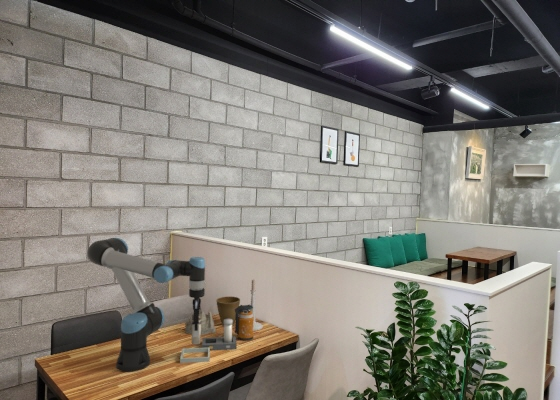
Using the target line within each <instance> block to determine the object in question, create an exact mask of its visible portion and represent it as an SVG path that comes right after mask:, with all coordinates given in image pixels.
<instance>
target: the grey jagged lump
mask: <svg viewBox="0 0 560 400" xmlns="http://www.w3.org/2000/svg"><path fill="white" fill-rule="evenodd" d="M199 314H201V315H202V318H201V336H203V335H204V336H205V335H208V334H214V333H217V330H216V327H215V320H214V319H213V316H212V311H208V313H205V312H204V310H200V312H199ZM184 326H185V330H184V333H185V334H186V335H192V316H189V318H187V320H186V321H185V322H184Z"/></svg>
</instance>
